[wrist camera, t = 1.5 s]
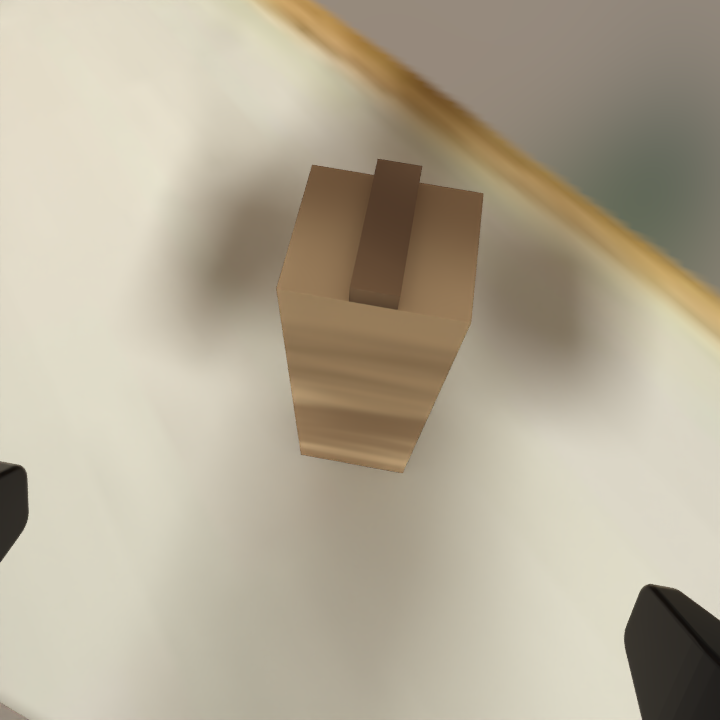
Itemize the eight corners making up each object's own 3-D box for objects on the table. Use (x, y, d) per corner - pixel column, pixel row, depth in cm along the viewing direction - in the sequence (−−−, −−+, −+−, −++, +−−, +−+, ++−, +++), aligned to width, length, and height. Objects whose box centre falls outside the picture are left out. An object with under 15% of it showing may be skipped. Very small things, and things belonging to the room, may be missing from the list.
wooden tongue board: (402, 473, 21) (477, 310, 11) (301, 454, 22) (273, 274, 11) (414, 391, 23) (488, 177, 12) (319, 374, 23) (311, 147, 12)
